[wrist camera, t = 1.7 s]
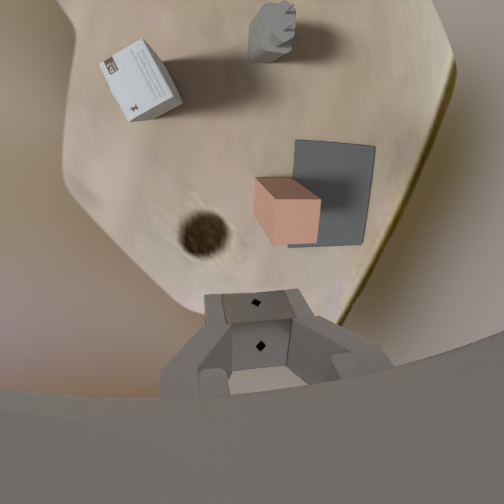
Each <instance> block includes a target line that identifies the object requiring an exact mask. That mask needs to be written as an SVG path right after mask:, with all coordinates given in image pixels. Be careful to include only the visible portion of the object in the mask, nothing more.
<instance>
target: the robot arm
mask: <svg viewBox="0 0 504 504" xmlns="http://www.w3.org/2000/svg"><path fill="white" fill-rule="evenodd" d="M204 306H205V323H206V325H205V326H202V327H201V328H200V329H199V330H198V331H197V332H196V333H195V334H194V335H193V336H192V337H191V338H190V339H189V341H188V342H187V343H186V344H185V345H184V346H183V347H182V348H181V349H180V350H179V351H178V352H177V354H175V355H174V356H173V358H172V359H171V360H170V361H169V362H168V363H167V364H166V365H165V366H164V367H163V368H162V369H161V377H160V398H159V399H122V398H121V399H120V398H118V399H117V398H94V397H78V396H65V395H55V394H45V393H37V392H29V391H21V390H14V389H8V388H2V387H0V504H504V331H502V332H500V333H497V334H494V335H492V336H489V337H487V338H484V339H481V340H479V341H476V342H473V343H470V344H467V345H465V346H462V347H459V348H456V349H453V350H450V351H447V352H444V353H440V354H438V355H434V356H431V357H427V358H424V359H421V360H417V361H414V362H410V363H406V364H403V365H399V366H394V365H393V364H392V362H391V361H390V360H389V358H388V357H387V355H386V354H385V352H384V351H383V350H382V348H381V347H380V346H379V345H378V344H376V343H374V342H371V341H369V340H367V339H365V338H363V337H361V336H359V335H357V334H355V333H353V332H351V331H349V330H347V329H345V328H343V327H341V326H339V325H337V324H335V323H333V322H331V321H329V320H327V319H325V318H323V317H320V316H314V314H313V313H312V311H311V309H310V307H309V306H308V304H307V302H306V301H305V299H304V297H303V296H302V294H301V292H300V291H299V289H297V288H296V289H288V290H279V291H269V292H259V293H232V294H221V295H220V294H210V295H204ZM276 366H286V367H287V368H289V369H290V370H291V371H292V372H293V373H295V374H296V375H297V376H299V377H300V378H301V379H302V380H303V381H305V382H306V383H307V384H308V385H305V386H299V387H292V388H285V389H278V390H270V391H262V392H255V393H244V394H235V395H230V390H229V385H228V380H229V378H230V376H231V374H232V371H238V370H247V369H255V368H265V367H276Z"/></svg>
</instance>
